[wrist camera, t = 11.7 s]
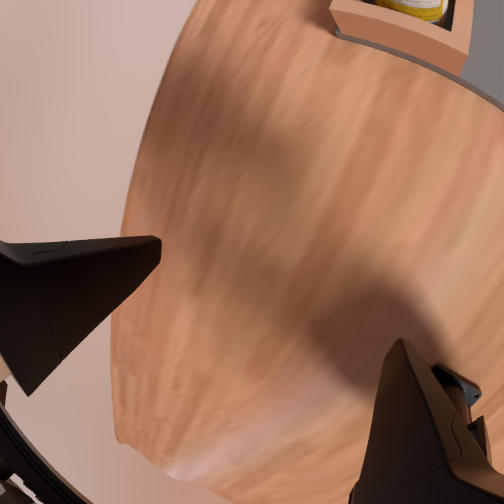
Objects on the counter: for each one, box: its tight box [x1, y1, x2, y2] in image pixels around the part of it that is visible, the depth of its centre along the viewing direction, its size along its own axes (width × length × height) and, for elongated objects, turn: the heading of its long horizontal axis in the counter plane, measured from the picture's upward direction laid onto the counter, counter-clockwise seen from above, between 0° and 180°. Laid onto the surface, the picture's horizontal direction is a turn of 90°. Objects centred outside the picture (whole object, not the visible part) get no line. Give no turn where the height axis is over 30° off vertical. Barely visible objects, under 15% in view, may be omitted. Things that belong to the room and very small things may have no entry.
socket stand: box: [329, 0, 504, 111], centre depth 8 cm, size 14×12×4 cm
